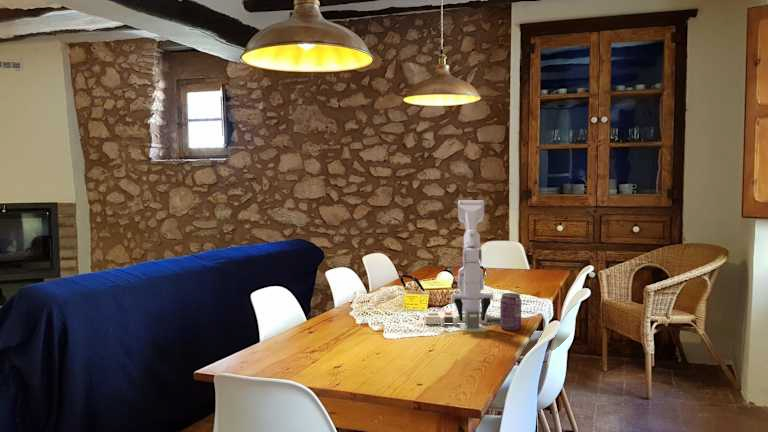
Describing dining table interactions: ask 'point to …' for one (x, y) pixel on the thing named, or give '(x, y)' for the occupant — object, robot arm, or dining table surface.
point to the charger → (471, 318)
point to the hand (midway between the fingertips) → (471, 320)
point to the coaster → (464, 329)
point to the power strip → (451, 318)
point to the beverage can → (510, 311)
